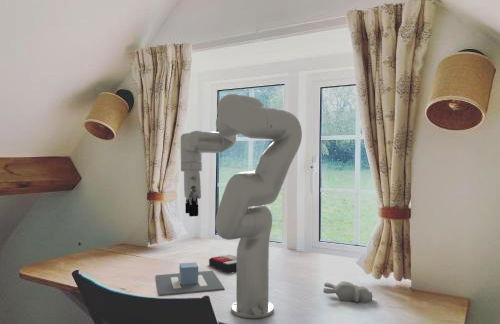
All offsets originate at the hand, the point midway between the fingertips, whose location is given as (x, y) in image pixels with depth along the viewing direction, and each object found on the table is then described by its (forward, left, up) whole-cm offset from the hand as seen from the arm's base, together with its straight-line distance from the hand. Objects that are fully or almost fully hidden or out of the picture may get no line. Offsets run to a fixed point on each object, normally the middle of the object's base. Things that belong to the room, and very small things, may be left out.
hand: (191, 214), depth 136 cm
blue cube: (+1, +1, -24) cm, 24 cm away
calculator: (+17, -18, -26) cm, 36 cm away
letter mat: (+1, +1, -25) cm, 25 cm away
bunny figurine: (-29, -46, -25) cm, 60 cm away
